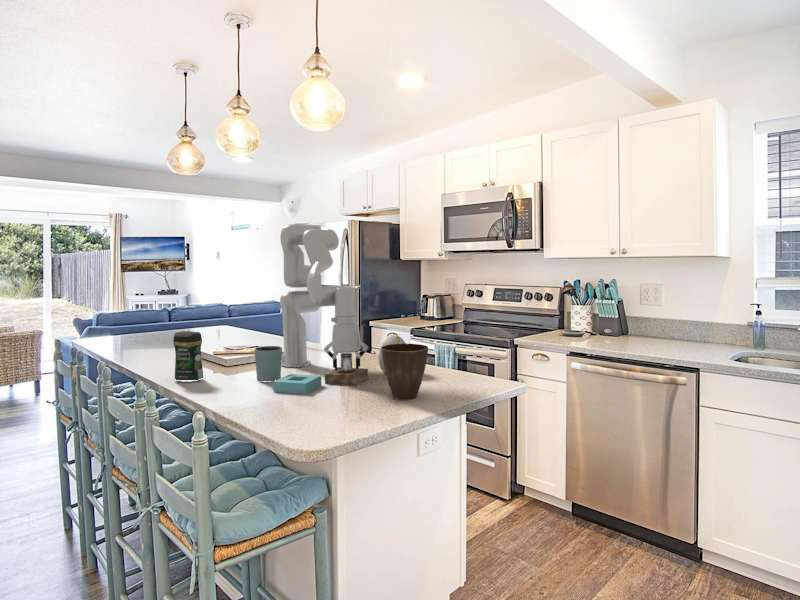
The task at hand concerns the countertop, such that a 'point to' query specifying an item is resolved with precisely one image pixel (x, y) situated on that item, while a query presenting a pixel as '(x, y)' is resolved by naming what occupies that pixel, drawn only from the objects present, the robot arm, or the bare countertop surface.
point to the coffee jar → (188, 355)
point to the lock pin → (346, 362)
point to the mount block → (346, 376)
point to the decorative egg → (388, 341)
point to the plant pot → (404, 368)
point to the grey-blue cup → (268, 363)
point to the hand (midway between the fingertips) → (346, 368)
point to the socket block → (297, 383)
